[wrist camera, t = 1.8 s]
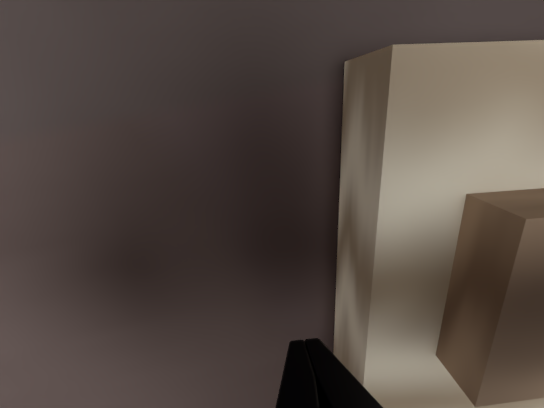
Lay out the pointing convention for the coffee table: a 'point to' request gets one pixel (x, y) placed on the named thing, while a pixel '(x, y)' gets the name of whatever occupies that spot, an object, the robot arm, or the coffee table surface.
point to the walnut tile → (497, 299)
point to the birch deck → (424, 198)
